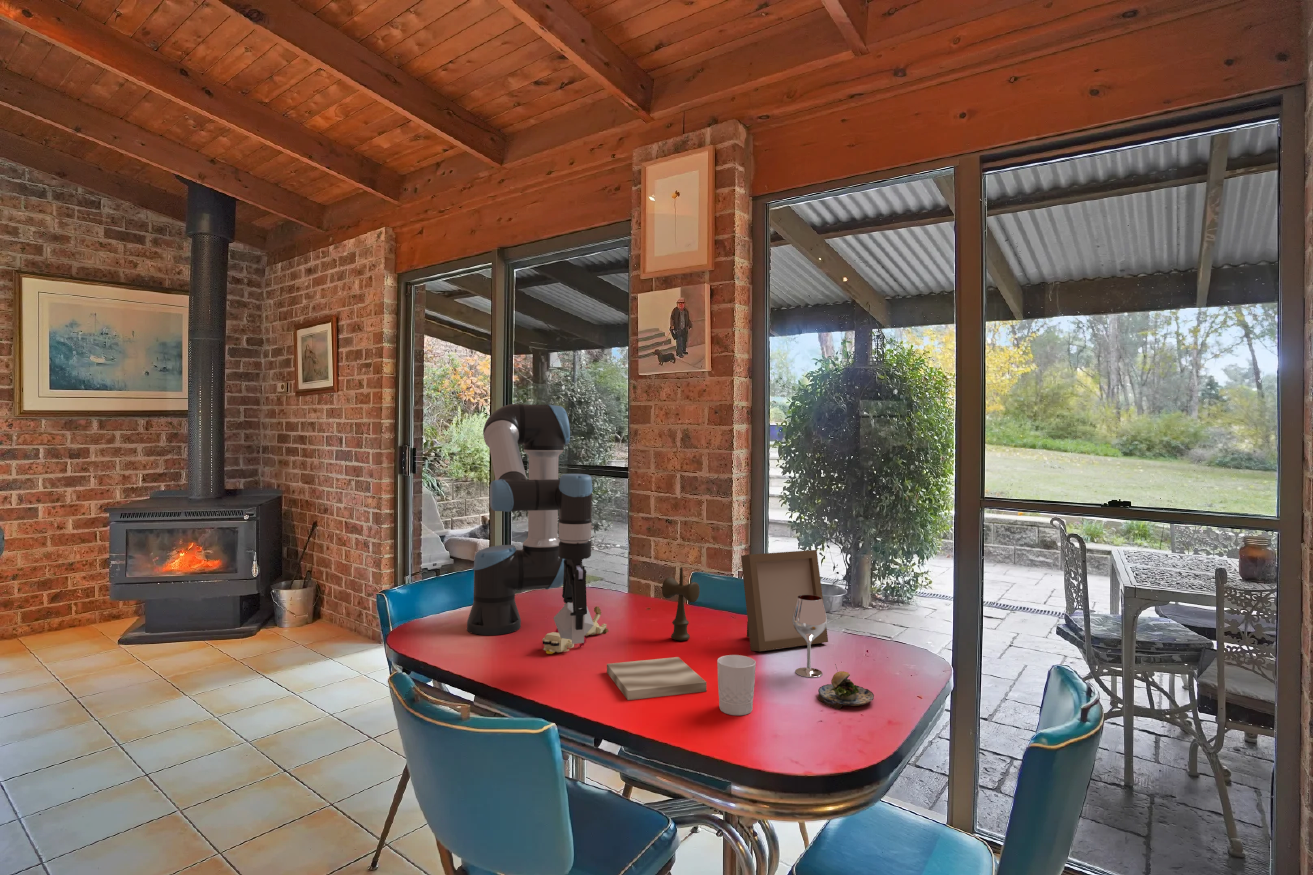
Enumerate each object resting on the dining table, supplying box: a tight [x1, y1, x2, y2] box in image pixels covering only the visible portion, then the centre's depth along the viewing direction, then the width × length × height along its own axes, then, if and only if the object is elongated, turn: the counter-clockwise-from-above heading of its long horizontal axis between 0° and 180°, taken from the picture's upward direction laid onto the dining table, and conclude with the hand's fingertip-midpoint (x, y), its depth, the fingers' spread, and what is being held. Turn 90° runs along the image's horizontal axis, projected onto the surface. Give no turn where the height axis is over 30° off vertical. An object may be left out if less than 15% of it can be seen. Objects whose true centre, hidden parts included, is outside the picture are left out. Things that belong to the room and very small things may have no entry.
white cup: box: [716, 654, 757, 716], centre depth 143 cm, size 8×8×10 cm
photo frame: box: [740, 549, 829, 652], centre depth 190 cm, size 15×22×25 cm
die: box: [553, 602, 594, 640], centre depth 162 cm, size 8×9×10 cm
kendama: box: [661, 566, 701, 642], centre depth 191 cm, size 6×10×20 cm, turn 51°
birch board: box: [606, 656, 707, 701], centre depth 158 cm, size 18×18×2 cm
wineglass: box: [792, 595, 828, 678], centre depth 165 cm, size 8×8×18 cm
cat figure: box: [542, 606, 609, 655], centre depth 187 cm, size 10×9×25 cm
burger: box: [817, 663, 875, 710], centre depth 149 cm, size 12×12×8 cm
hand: (573, 636), depth 162 cm, fingers closed on die, 9 cm apart
